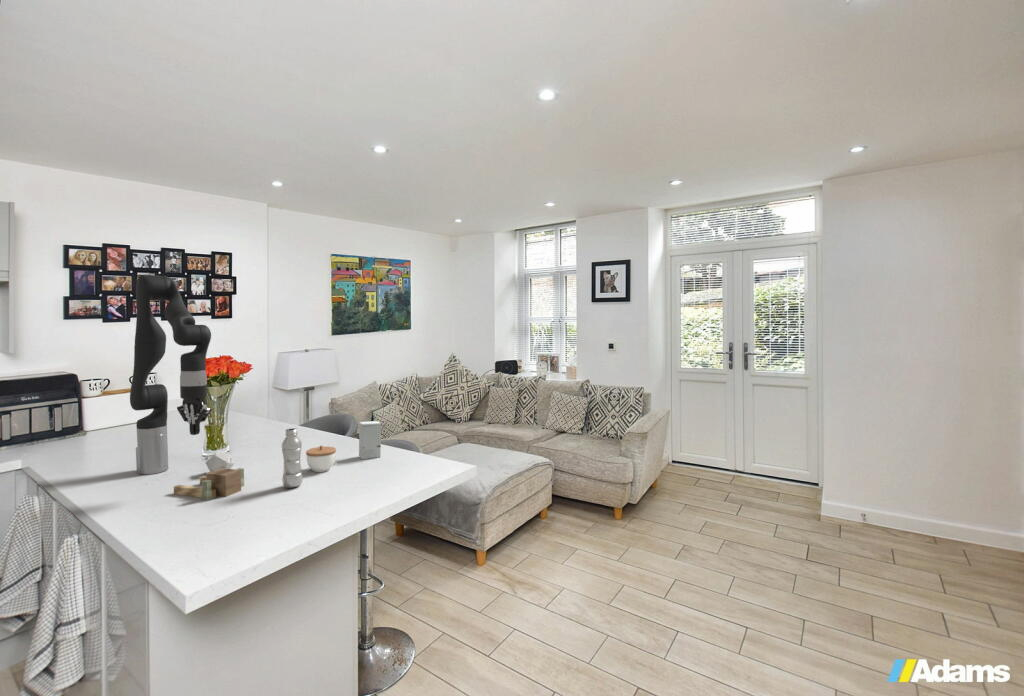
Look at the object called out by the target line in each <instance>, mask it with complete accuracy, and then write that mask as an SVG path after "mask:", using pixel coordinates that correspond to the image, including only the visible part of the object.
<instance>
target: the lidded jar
mask: <svg viewBox="0 0 1024 696" xmlns="http://www.w3.org/2000/svg"><path fill="white" fill-rule="evenodd" d="M336 453H337V448H336V447H333V446H323V445H319V446H317V447H312V448H309V449H307V450H306V451H305V454H306V455H305V456H306V462H307V465H308V467H309V468H310V469H311V471H313V472H314V473H323V472H327V471H330V470H329V469H331V468H332V467H333V466H334V465H335V461H336V457H337V456H336V455H337V454H336Z"/></svg>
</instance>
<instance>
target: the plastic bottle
mask: <svg viewBox="0 0 1024 696" xmlns="http://www.w3.org/2000/svg"><path fill="white" fill-rule="evenodd" d="M297 435H298V428H296V427H295V428H294V427H293V428H292V427H291V428H287V429H285V436H286V437H285V438H284V439H283V441H282V442H281V451H282V457H283V473H282V479H281V480H282V485H283V487H284V488H288V489H289V488H291V489H292V488H297V487H300V486H301V485H302V483H303V472H302V466H301V457H302V456H301V453H302V445H303V444H302V440H301V439H300V438H299V437H298V436H297Z"/></svg>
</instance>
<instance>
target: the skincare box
mask: <svg viewBox="0 0 1024 696" xmlns="http://www.w3.org/2000/svg"><path fill="white" fill-rule="evenodd" d="M358 425H359V426H358V428H359V430H358V440H359V441H358V456H359V459H361V460H368V459H374V458H381V457H382V456H381V449H382V446H381V441H382V438H381V437H382V423H381V422H380V421H378V420H376V421H375V420H373V421H359V422H358Z"/></svg>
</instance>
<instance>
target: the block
mask: <svg viewBox="0 0 1024 696" xmlns="http://www.w3.org/2000/svg"><path fill="white" fill-rule="evenodd" d="M205 476H206V480H211V489H216V497H229V496H231V495H234V494H237V493H238V492H241V491H242V487H241V470H236V469H233V468H231V469H225V468H221V469H218V470H215V471H212V472H210V471H209V472H207V473H206V474H205Z"/></svg>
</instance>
